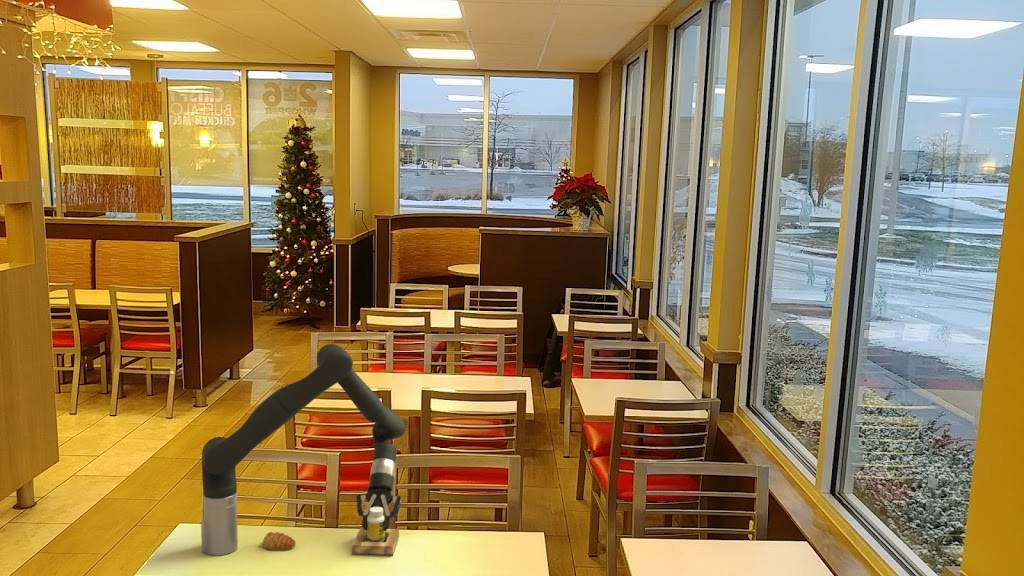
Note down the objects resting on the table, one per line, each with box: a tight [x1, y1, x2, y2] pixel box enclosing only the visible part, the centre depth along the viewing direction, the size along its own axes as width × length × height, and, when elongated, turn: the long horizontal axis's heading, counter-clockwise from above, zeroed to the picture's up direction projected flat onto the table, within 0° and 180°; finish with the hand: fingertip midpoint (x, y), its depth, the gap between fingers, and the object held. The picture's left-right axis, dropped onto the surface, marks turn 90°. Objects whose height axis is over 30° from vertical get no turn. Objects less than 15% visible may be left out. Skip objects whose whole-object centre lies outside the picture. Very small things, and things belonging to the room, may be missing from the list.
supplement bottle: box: [367, 507, 386, 542], centre depth 241 cm, size 5×5×10 cm
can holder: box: [351, 527, 400, 557], centre depth 241 cm, size 12×12×3 cm
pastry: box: [262, 531, 297, 551], centre depth 239 cm, size 9×7×4 cm
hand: (375, 529), depth 239 cm, fingers closed on supplement bottle, 5 cm apart
